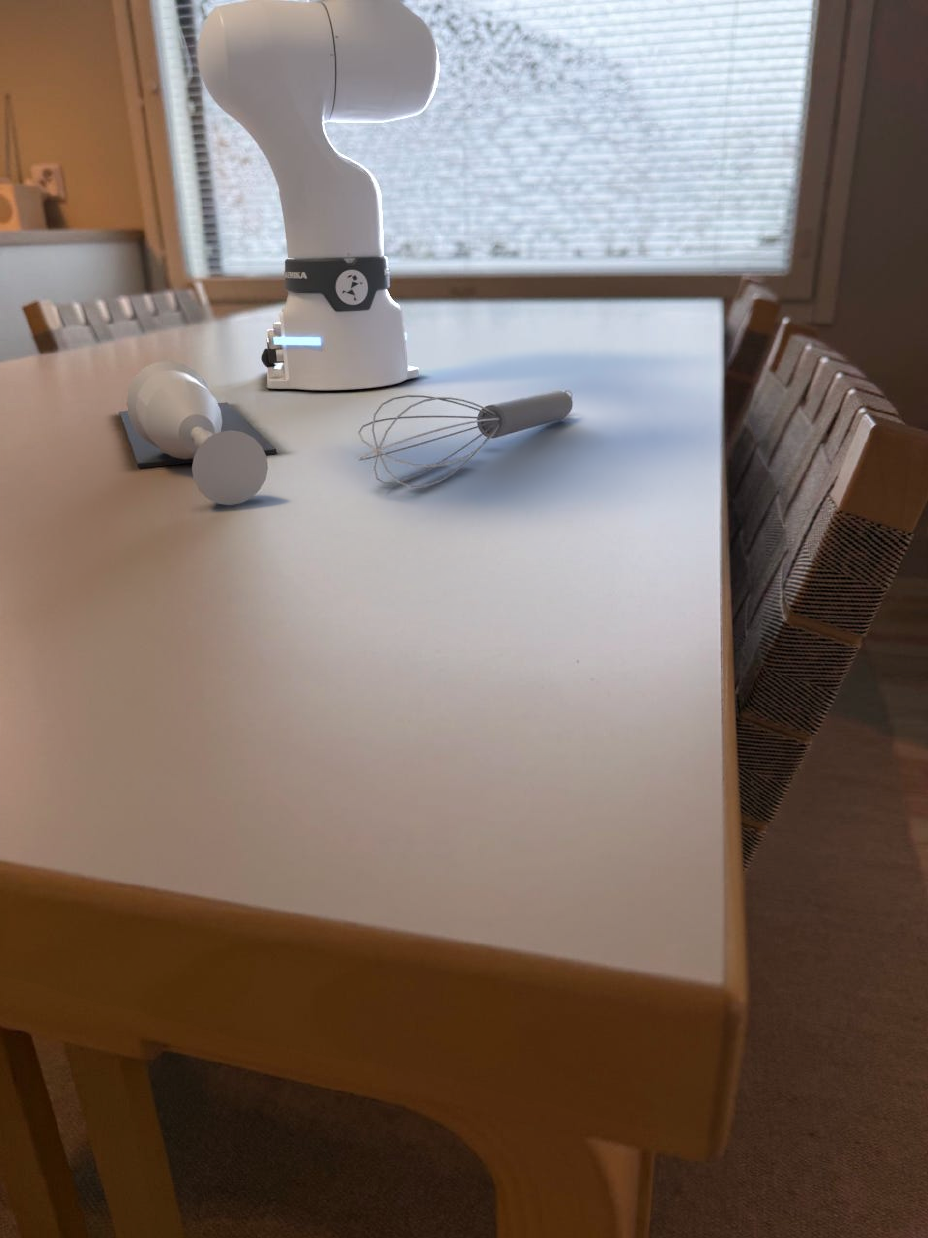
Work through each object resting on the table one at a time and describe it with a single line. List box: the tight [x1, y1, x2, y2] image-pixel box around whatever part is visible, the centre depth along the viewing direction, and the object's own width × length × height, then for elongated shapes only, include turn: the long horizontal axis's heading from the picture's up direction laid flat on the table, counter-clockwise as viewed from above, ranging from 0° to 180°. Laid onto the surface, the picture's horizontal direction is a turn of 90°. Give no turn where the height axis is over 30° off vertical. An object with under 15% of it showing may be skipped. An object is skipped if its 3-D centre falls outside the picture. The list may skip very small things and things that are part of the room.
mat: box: [118, 401, 278, 469], centre depth 86 cm, size 26×11×1 cm, turn 22°
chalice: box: [126, 360, 269, 506], centre depth 68 cm, size 7×7×18 cm
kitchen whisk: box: [357, 389, 574, 488], centre depth 75 cm, size 6×34×6 cm, turn 152°
